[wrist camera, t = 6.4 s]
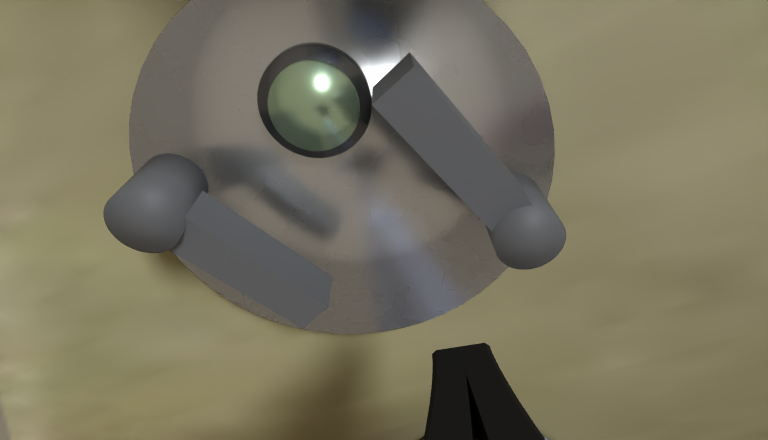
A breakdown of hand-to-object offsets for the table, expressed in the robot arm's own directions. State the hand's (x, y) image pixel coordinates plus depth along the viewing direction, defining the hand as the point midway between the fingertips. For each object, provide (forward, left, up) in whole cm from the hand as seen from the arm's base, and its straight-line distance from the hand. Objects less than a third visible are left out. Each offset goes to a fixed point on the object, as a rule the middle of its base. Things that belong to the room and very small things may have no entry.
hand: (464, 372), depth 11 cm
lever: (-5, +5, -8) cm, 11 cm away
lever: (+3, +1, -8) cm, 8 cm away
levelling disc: (-1, +3, -9) cm, 10 cm away
